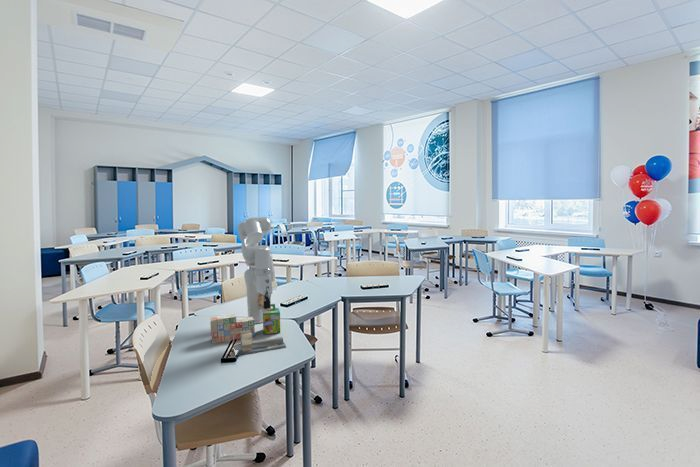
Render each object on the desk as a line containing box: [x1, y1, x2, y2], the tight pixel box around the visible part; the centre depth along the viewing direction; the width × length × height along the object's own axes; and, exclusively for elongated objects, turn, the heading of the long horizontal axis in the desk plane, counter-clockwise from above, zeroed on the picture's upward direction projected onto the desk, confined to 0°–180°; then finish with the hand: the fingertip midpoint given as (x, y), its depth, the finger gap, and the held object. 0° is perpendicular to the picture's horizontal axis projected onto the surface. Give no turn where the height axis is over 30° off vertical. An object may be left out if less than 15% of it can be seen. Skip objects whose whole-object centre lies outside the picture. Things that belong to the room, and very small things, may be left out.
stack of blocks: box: [210, 313, 256, 344], centre depth 196 cm, size 21×6×12 cm, turn 112°
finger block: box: [257, 293, 272, 311], centre depth 191 cm, size 5×5×8 cm
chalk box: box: [262, 303, 281, 335], centre depth 205 cm, size 9×9×15 cm
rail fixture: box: [233, 330, 287, 357], centre depth 182 cm, size 9×24×9 cm, turn 112°
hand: (264, 306), depth 192 cm, fingers closed on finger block, 5 cm apart
